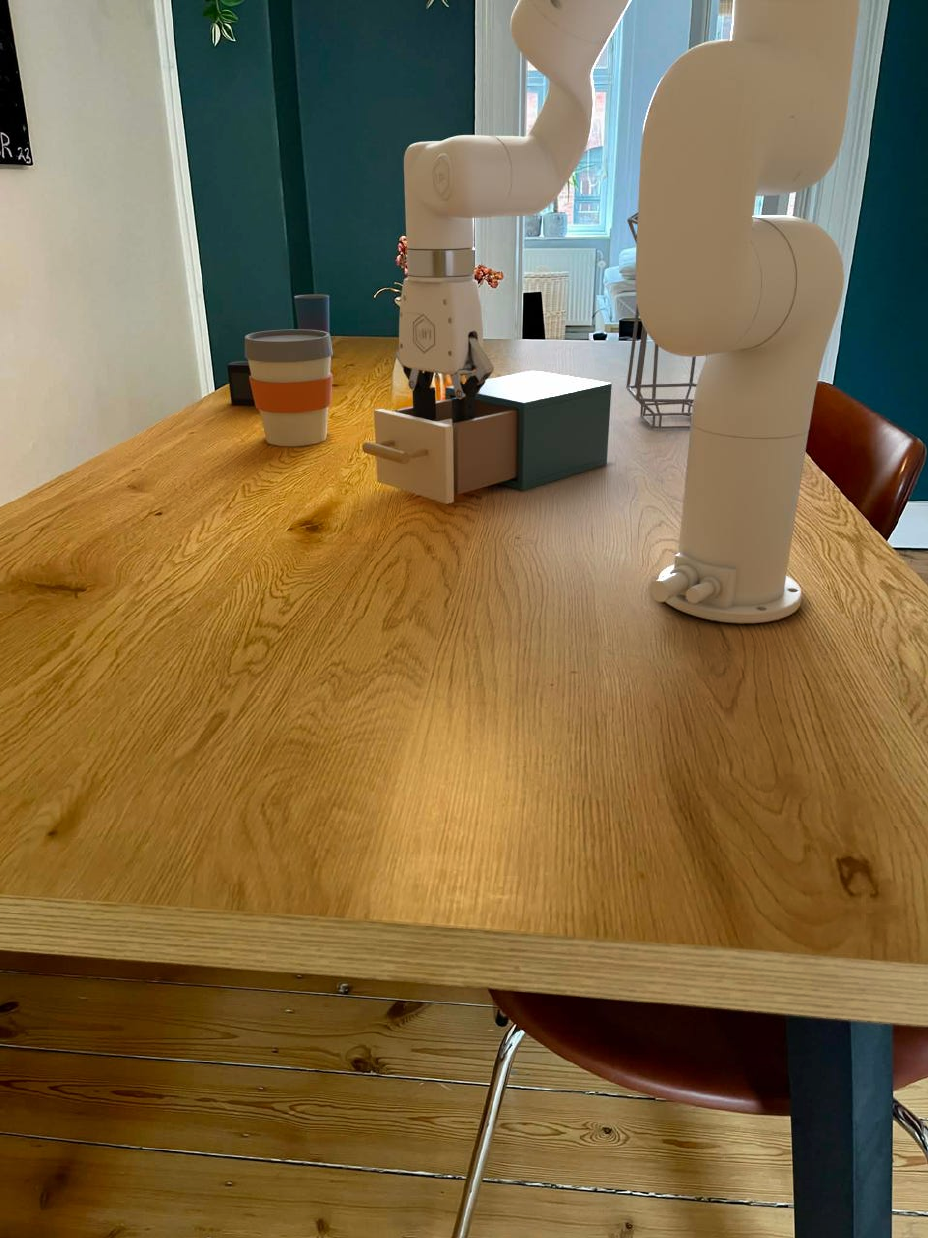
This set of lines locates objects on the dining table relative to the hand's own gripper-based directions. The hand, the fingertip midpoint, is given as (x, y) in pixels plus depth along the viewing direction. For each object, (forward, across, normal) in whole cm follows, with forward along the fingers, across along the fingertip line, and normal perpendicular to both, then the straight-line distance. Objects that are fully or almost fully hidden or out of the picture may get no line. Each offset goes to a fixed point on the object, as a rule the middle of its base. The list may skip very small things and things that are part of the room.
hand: (443, 424), depth 109 cm
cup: (+8, -77, +36) cm, 85 cm away
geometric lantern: (+8, -1, +50) cm, 51 cm away
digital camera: (+8, -60, +12) cm, 62 cm away
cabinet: (+8, 0, +15) cm, 17 cm away
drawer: (+7, 0, 0) cm, 7 cm away
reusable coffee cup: (+8, -35, +2) cm, 36 cm away
